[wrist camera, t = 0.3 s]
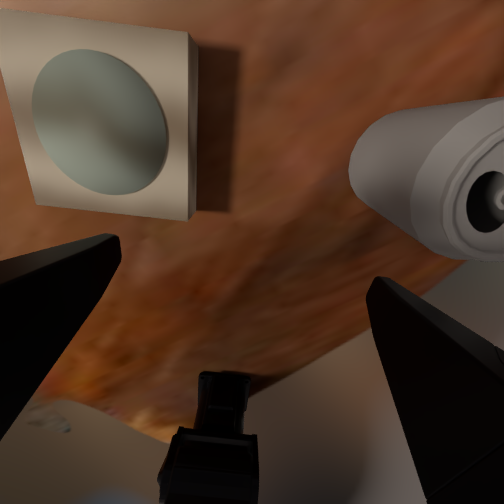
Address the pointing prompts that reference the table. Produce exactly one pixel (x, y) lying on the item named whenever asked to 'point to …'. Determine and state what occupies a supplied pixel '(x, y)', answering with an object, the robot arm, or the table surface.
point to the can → (438, 176)
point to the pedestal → (103, 113)
